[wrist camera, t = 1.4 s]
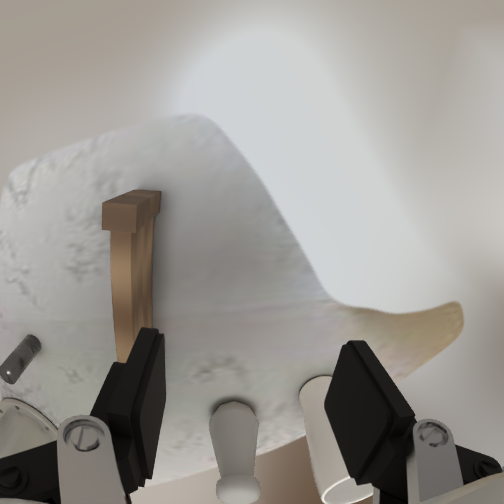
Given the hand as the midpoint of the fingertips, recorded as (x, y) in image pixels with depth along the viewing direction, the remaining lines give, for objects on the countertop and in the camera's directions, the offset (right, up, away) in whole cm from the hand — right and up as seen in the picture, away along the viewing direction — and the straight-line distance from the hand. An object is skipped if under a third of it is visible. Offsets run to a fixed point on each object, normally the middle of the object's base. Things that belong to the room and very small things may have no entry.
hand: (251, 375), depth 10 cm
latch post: (-27, -7, +20) cm, 34 cm away
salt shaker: (-2, -15, +25) cm, 30 cm away
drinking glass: (+8, -13, +25) cm, 29 cm away
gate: (-10, +2, +18) cm, 21 cm away
